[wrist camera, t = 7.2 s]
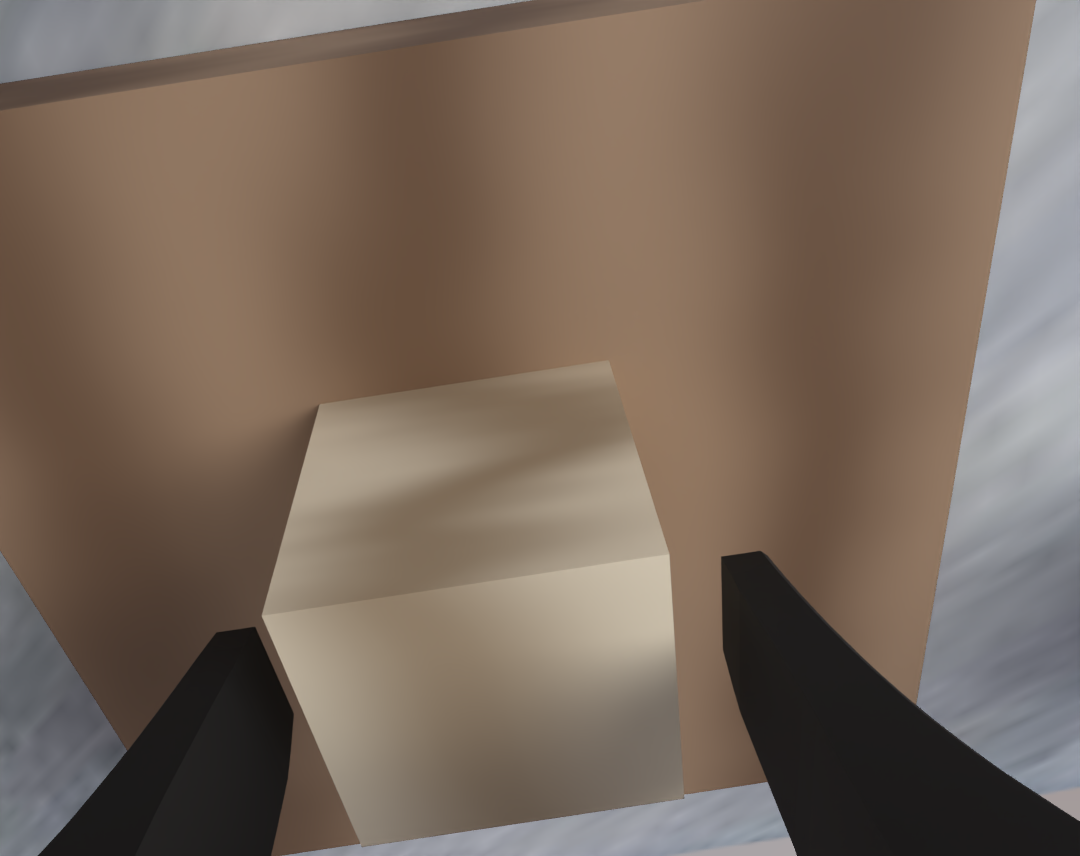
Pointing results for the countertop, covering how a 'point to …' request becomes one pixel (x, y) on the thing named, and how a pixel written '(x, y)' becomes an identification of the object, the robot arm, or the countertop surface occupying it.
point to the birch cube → (480, 606)
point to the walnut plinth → (503, 306)
